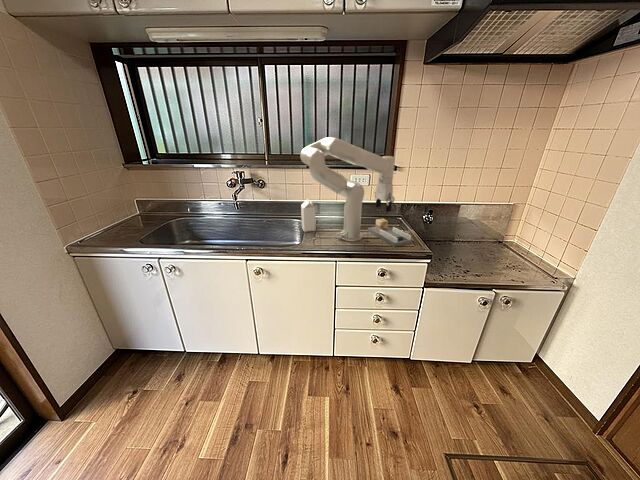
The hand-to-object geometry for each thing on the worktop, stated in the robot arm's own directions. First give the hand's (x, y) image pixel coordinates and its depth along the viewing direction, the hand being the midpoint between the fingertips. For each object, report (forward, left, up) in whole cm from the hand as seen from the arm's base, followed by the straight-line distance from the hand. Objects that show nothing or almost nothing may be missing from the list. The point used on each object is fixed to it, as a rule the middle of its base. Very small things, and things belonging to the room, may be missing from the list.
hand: (383, 209), depth 149 cm
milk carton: (-38, +22, -15) cm, 47 cm away
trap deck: (0, -8, -14) cm, 16 cm away
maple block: (+1, +1, -12) cm, 12 cm away
